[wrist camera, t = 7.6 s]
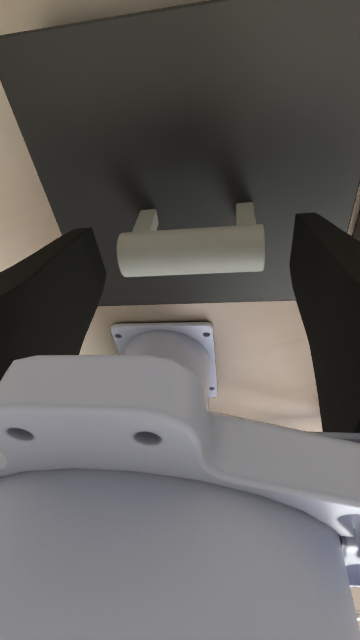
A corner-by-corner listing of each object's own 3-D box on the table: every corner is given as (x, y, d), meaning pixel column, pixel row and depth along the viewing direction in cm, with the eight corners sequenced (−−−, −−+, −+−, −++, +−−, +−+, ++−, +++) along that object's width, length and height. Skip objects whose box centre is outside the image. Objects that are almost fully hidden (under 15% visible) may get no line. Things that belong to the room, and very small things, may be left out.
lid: (328, 291, 17) (353, 359, 14) (93, 299, 19) (66, 360, 16) (403, -31, 9) (500, -51, 6) (-7, 36, 11) (-102, 50, 8)
